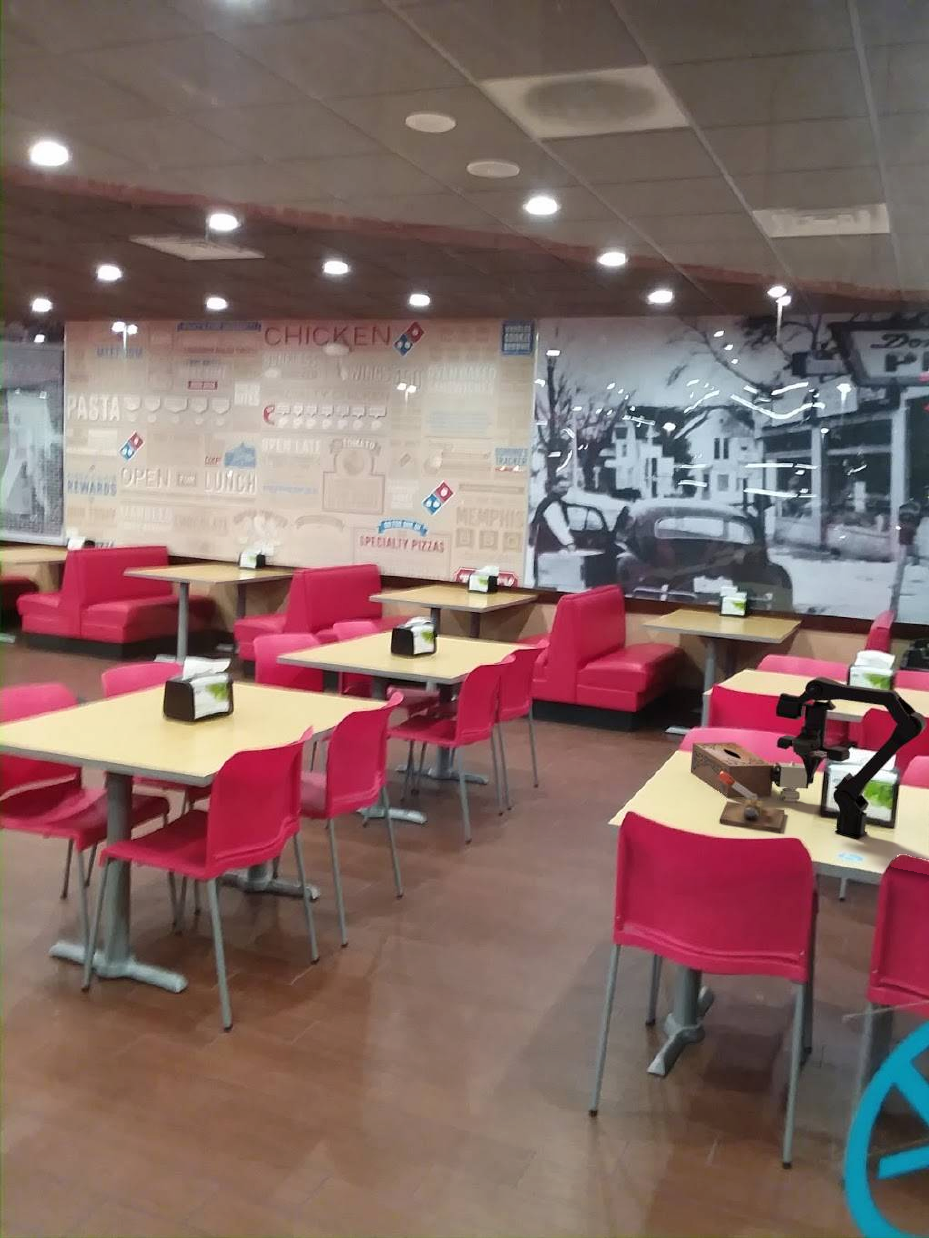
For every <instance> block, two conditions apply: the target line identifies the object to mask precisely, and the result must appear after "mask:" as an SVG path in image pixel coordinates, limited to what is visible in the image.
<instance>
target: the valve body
mask: <svg viewBox="0 0 929 1238" xmlns="http://www.w3.org/2000/svg"><path fill="white" fill-rule="evenodd" d="M755 795H757V794H755ZM744 804H745V805H744V814H743V816H744V819H745V820H749V821H757V819H758V818H760V816H761V813H762V806H763V800H762V799H761V797H758V799H757V801H756V798H754V797H751V800H749V799H748V798H747V799H745V802H744Z"/></svg>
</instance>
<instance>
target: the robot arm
mask: <svg viewBox="0 0 929 1238" xmlns="http://www.w3.org/2000/svg"><path fill="white" fill-rule="evenodd" d="M804 689H805V690H804V692H802V694H799V695H793V694H789V693H785V692H782V693H780V694H779V699H778V701H777V704H776V707H775V715H776V717H778V718H783V719H786V720H787V719H788V720H793V721H799V720H800V719H801V718H804V721H803V725H802V726H801V729H800V732H799V734H798V735H796V736H793V735H789V734H786V735H784V736H780V737H779V738H777V741H776V748H778V749H782V750H788V749H789V748H790V747H792V751H793V753H795V755H797V756H799V758H801V760H802V762H803V763H802V764H804V766H805V770H806V773H807V777H808V778H809V779H812V778H813V776H814V777H815V773H816V772H817V770H818V768H819V766H820V765H821V763H822V762H823V761H824V759H829V760H830V761H833V762H838V763H839V762H840V763H841V762H844V761H847V760H849V759H851V758H850V756H851V752H850V750H849V748H847V747H843V746H838V745H835V746H832V747H827V741H826V740H825V739H826V732H828V730H829V727H828V726H827V721H828V711H833V710H835V709H836V708H837V706H836V705H835V704H834V703H833V702H832V701H834V700H835V701H836V700H839V701H840V700H842V701H849V702H857V703H862V704H863V703H864V704H871V705H879V706H884V707H885V709H886V710H887V712H888V713H889V714H890V716H891V719H893V721H894V722H895V723H896V724H897V725H896V726H895V728H894V729H893V730H892V733H891V735H890V736H889V738H888V740H887V741H886V742H885V743H884V744H883V745H881V747H880V748H879V749H878V750H877V751H876V752H875V754H874V755H872V756H871V758H870V759H869V760H868V761H867V762H866V763H865V764H864V766H862V768H861V769H860V770H859V771H858V772H856V774H854V775H852V773H851V772H849V773H847V774H845V776H844V777H843V778H842V779H841V781H840V782H839V783H838V784H836V785H835V786H834V789H835V790H834V792H833V793H832V795H833V801H834V802H835V803H836V805H837V806H838V809H839V810H838V811H839V813H838V814H837V816H836V824H835V825H836V826H835V828H836V830H834V833H835V834H839V835H842V836H845V837H849V838H853V839H857V840H859V839H861V838H863V837H865V836H866V835H868V832H867V831H866V825H867V816H868V813H867V812H864V811H866V810H867V808H868V806H869V803H870V802H868V800H867V799H866V797H865V796H864V795H863V793H864V792H865V790H866V788H867V787H868V785H869V783H870V781H871V780H872V779H873V778H874V777H875V776H876V775H877V774H878V773H879V772H880V771H881V770H882V768H884V766H885V765H887V763H888V762H889V761H891V759H892V758H893V757H894V756H895V755H896V754H897V753H898V751H900V749H901V748H902V747H904V746H905V745H907V744H909V742H911V741H912V740H913V739H915V738H917V737H918V736H919V735H920V734H921V733H923V731H925V730H926V728H927V726H928V724H927V719H926V717H925V716H924V715H923V714H922V713H921V712H917V711H916V710H915V709H914V707H913V706H912V705H911V704H909V703H908V702H907V701H906V700H905V699H904V698H902V696H900V694H899V693H898V692H897V691H896V690H893V689H879V688H874V687H864V686H857V685H849V684H843V683H840V681H836V680H834V679H832V678H827V677H823V676H818V677H815V678H813V679H811V680H809V681H808V682H807V683H806V685H805V688H804ZM809 701H814V702H809ZM825 701H826V702H825ZM825 746H826V747H825Z"/></svg>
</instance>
